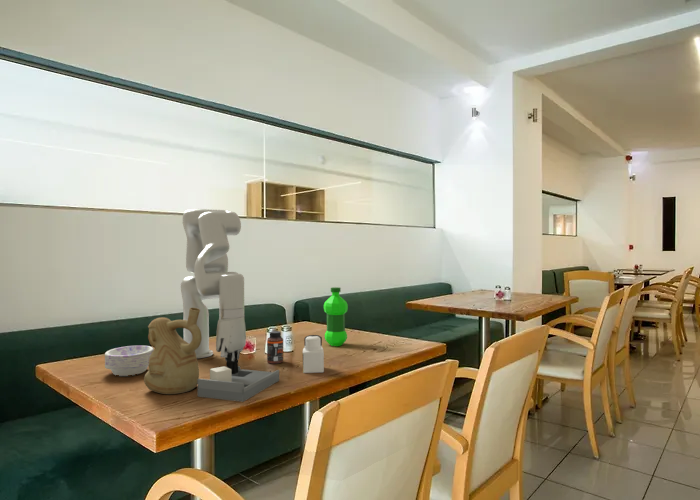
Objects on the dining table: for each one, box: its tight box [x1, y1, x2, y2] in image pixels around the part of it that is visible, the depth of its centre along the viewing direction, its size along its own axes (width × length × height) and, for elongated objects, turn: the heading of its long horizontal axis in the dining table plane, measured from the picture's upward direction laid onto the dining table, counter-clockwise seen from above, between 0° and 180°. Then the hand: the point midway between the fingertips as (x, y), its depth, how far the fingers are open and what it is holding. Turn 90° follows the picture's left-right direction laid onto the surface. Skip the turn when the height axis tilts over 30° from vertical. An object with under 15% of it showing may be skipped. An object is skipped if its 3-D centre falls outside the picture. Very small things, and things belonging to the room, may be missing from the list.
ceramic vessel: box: [143, 308, 202, 395], centre depth 140 cm, size 17×20×25 cm
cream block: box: [209, 366, 232, 382], centre depth 136 cm, size 5×5×5 cm
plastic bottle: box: [323, 286, 349, 347], centre depth 202 cm, size 10×10×25 cm
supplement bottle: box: [266, 330, 284, 365], centre depth 172 cm, size 6×6×11 cm
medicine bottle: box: [302, 334, 325, 374], centre depth 161 cm, size 7×7×12 cm
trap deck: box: [197, 365, 280, 403], centre depth 141 cm, size 15×22×5 cm
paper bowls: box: [104, 345, 155, 377], centre depth 159 cm, size 15×15×8 cm
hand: (232, 373), depth 142 cm, fingers closed
